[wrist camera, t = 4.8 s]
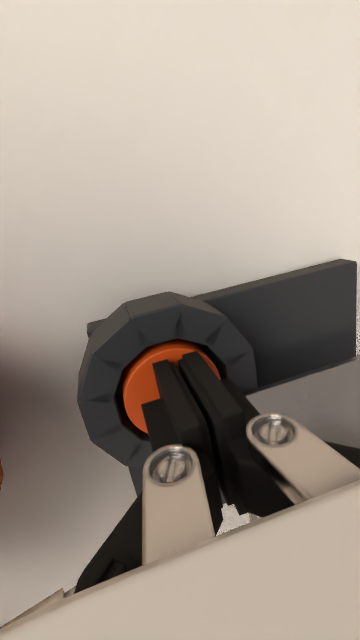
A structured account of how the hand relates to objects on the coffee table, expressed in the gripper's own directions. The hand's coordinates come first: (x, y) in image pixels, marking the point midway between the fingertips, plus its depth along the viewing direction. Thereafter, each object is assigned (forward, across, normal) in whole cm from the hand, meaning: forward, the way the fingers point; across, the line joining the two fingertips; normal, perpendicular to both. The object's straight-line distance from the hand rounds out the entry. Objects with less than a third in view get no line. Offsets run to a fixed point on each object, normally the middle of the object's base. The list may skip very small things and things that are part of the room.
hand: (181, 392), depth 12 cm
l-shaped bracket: (+3, -3, +3) cm, 5 cm away
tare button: (+2, 0, 0) cm, 2 cm away
